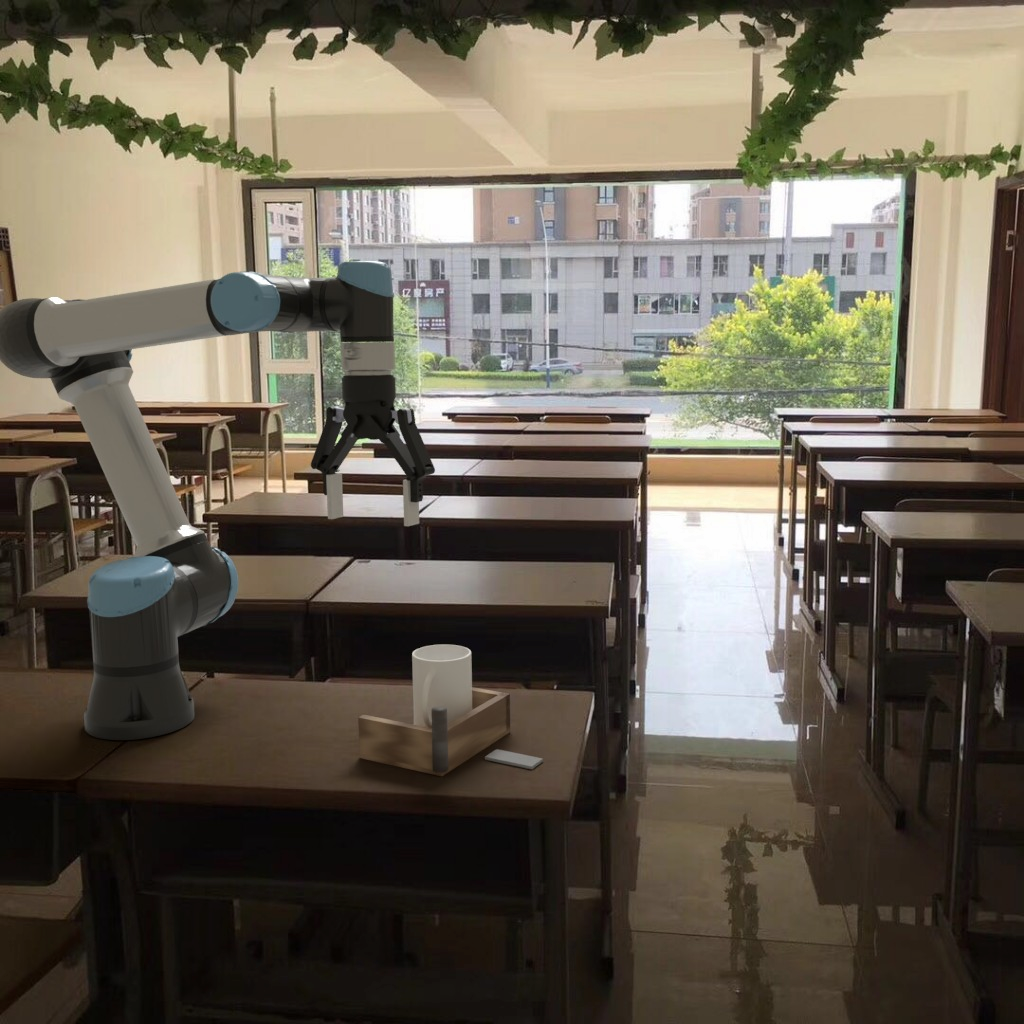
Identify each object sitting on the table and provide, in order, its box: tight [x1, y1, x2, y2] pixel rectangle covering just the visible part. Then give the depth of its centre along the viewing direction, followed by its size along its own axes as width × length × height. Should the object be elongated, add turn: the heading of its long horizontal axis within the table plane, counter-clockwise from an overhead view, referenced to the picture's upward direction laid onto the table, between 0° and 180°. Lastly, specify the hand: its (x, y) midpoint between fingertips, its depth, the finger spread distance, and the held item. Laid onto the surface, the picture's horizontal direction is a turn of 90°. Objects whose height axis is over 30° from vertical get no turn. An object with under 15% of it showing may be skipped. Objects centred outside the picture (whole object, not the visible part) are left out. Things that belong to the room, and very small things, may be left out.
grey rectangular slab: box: [484, 748, 544, 770], centre depth 141 cm, size 7×3×1 cm, turn 61°
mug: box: [411, 644, 473, 728], centre depth 146 cm, size 12×8×12 cm
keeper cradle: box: [357, 686, 511, 777], centre depth 146 cm, size 13×18×9 cm
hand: (372, 521), depth 156 cm, fingers open, 13 cm apart
